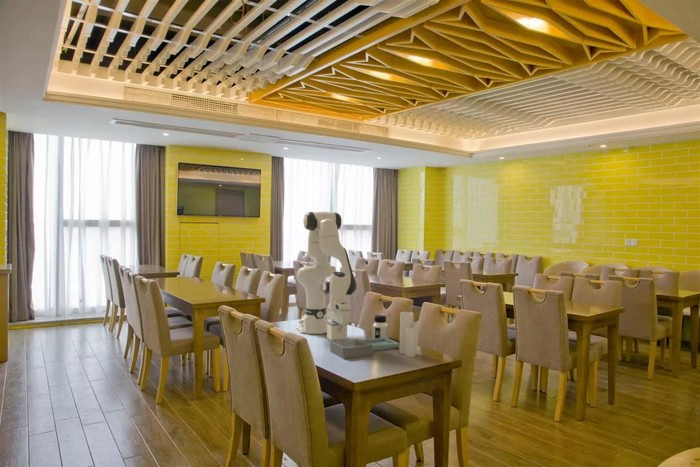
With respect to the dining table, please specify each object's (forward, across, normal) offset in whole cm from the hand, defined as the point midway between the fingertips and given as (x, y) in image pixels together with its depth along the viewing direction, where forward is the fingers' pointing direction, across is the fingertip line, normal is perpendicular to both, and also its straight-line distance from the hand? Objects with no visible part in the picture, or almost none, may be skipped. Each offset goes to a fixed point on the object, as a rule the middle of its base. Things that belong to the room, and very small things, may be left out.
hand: (337, 330), depth 256 cm
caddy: (+4, 0, 0) cm, 4 cm away
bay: (+8, +15, 0) cm, 17 cm away
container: (+9, -6, +30) cm, 32 cm away
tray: (+8, +9, +19) cm, 23 cm away
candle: (+8, +28, +26) cm, 39 cm away
